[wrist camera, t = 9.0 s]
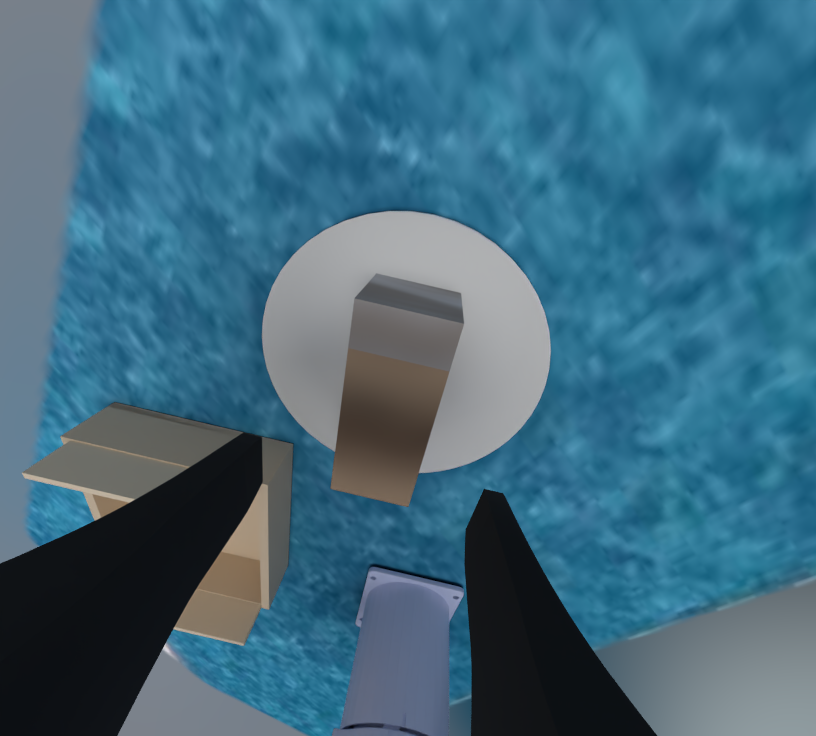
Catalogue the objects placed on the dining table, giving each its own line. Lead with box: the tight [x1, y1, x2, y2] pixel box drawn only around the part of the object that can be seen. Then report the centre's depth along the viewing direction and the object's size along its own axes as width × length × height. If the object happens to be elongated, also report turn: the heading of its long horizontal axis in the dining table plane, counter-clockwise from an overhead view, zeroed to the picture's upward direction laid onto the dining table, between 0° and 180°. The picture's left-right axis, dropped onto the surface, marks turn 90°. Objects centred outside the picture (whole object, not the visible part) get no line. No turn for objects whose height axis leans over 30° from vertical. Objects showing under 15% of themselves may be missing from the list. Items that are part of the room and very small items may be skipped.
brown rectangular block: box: [331, 273, 464, 507], centre depth 16 cm, size 10×4×4 cm, turn 169°
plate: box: [262, 211, 551, 473], centre depth 18 cm, size 15×15×1 cm
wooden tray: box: [22, 402, 293, 646], centre depth 23 cm, size 14×12×6 cm
